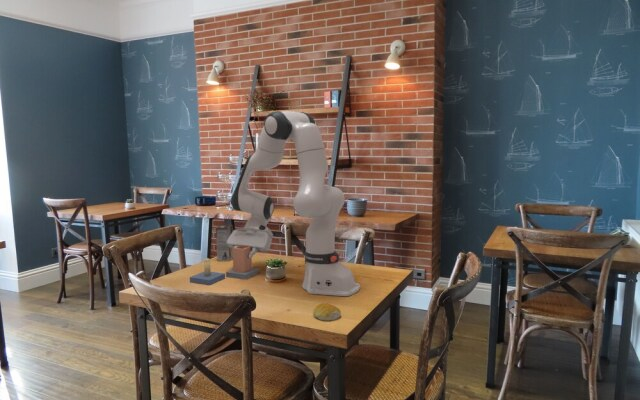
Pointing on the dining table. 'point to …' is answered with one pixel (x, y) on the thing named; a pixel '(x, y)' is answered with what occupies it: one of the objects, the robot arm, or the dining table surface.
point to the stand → (242, 275)
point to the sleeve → (241, 259)
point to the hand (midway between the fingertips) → (242, 256)
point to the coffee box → (224, 243)
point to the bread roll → (326, 312)
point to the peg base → (207, 275)
